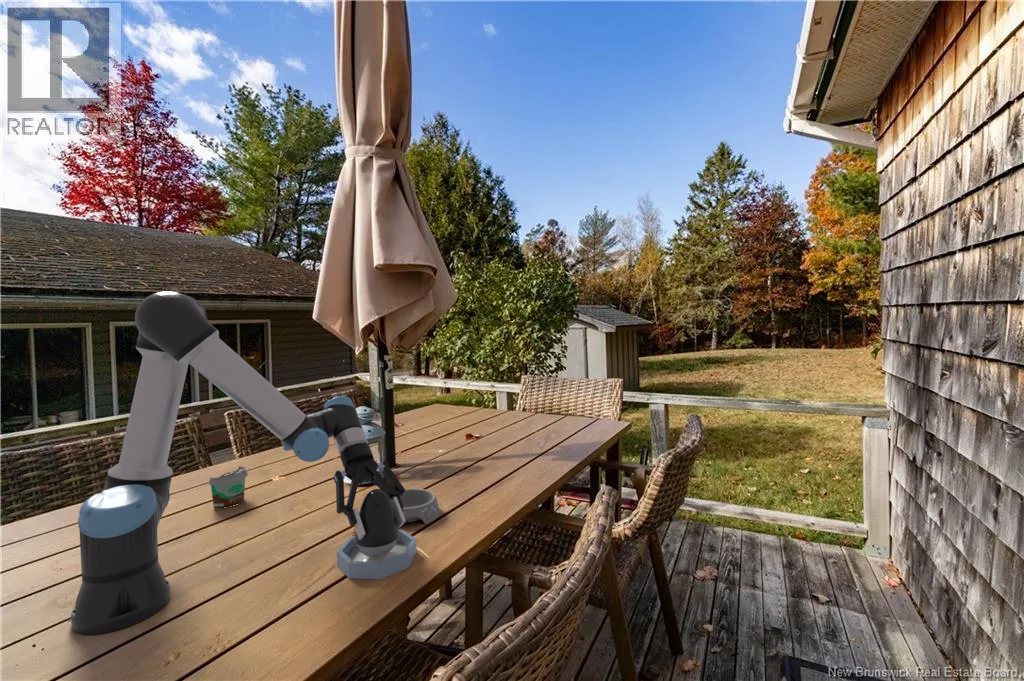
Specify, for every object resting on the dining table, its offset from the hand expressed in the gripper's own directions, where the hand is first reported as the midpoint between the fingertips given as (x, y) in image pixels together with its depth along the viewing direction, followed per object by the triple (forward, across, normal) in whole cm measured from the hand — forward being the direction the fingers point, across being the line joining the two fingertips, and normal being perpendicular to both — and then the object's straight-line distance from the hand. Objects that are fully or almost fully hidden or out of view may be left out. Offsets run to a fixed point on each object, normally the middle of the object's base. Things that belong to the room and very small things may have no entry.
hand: (383, 530), depth 110 cm
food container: (-40, +18, -52) cm, 68 cm away
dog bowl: (-9, -19, -21) cm, 30 cm away
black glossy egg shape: (+2, 0, -7) cm, 7 cm away
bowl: (+4, 0, -8) cm, 9 cm away
